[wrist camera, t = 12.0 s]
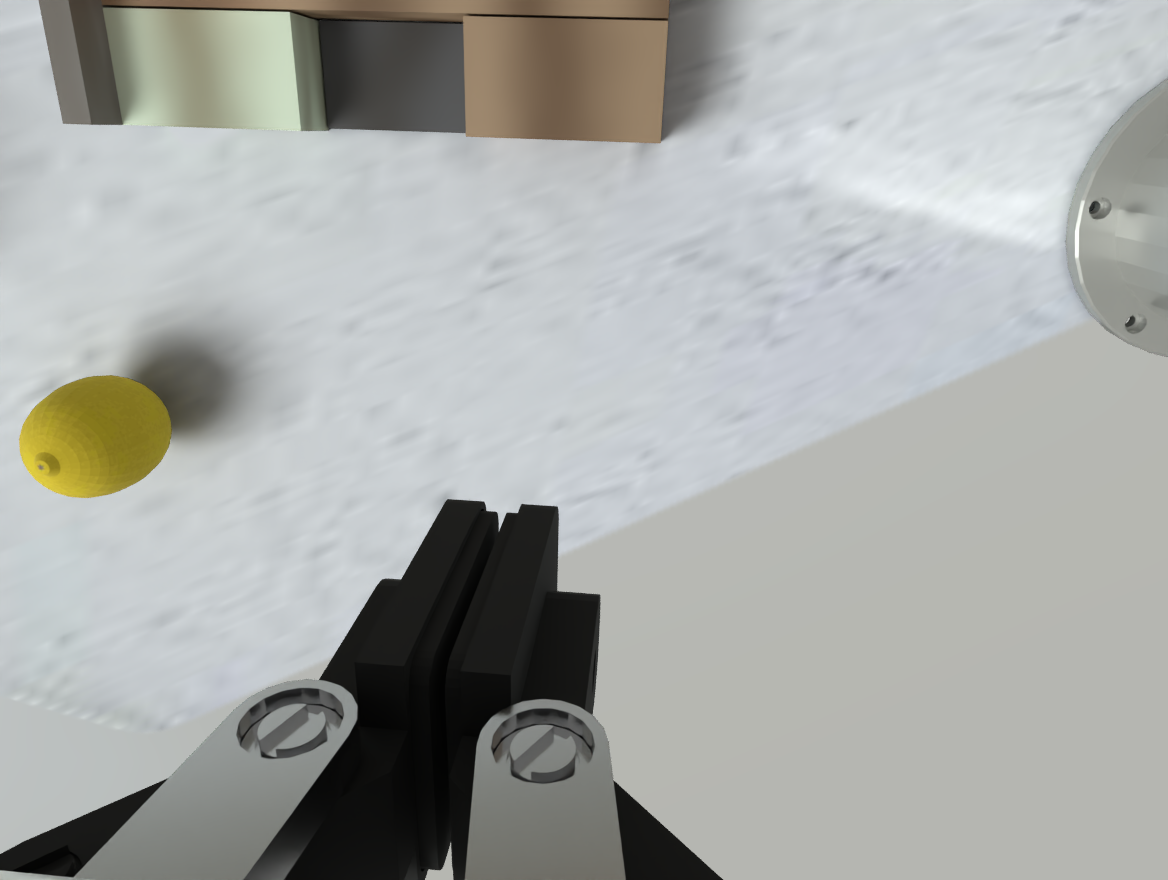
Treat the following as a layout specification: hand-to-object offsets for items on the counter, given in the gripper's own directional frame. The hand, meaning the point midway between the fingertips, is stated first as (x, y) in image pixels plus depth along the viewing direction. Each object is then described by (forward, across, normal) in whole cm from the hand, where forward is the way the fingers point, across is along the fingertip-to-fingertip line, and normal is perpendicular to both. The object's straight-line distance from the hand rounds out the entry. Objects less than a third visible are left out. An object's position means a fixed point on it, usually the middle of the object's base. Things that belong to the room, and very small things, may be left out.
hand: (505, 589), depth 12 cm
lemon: (+27, +24, +8) cm, 37 cm away
